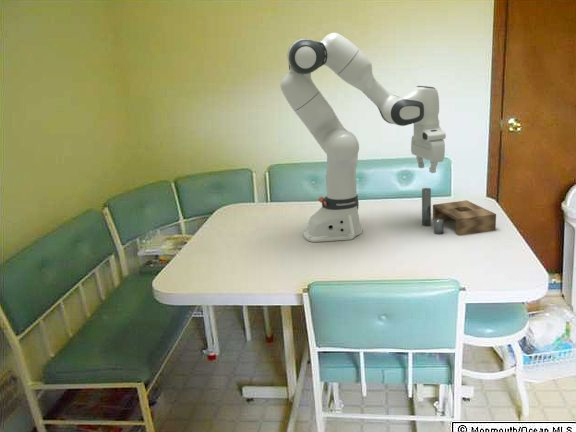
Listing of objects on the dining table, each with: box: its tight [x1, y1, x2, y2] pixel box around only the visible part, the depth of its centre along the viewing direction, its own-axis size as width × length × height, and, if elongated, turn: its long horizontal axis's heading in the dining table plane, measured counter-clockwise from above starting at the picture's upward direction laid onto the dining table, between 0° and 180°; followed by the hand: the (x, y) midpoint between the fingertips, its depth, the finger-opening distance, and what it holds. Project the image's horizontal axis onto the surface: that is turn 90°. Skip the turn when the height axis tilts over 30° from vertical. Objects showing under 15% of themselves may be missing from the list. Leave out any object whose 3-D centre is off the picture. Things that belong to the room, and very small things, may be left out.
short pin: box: [433, 218, 444, 235], centre depth 173 cm, size 3×3×5 cm
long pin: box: [421, 187, 432, 227], centre depth 181 cm, size 3×3×14 cm
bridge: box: [432, 200, 497, 236], centre depth 180 cm, size 14×20×6 cm
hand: (426, 170), depth 177 cm, fingers open, 8 cm apart
